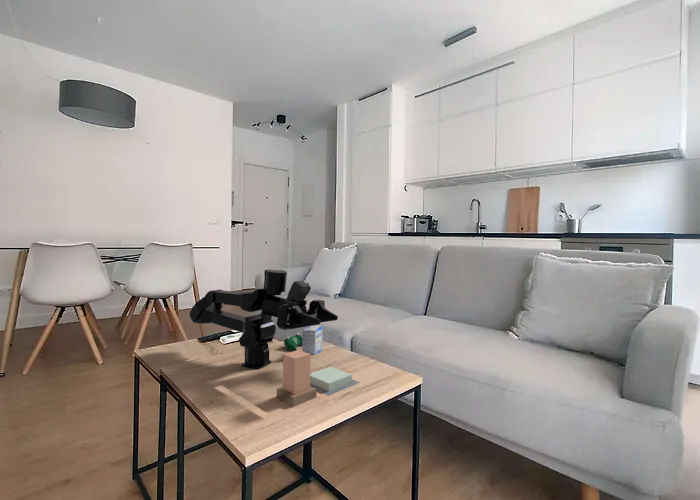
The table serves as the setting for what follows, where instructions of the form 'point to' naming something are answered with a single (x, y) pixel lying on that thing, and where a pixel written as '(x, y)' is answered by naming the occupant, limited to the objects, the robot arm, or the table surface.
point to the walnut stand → (296, 396)
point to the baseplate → (335, 389)
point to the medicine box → (312, 339)
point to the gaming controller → (293, 342)
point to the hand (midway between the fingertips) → (329, 320)
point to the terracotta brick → (296, 371)
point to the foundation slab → (330, 378)
